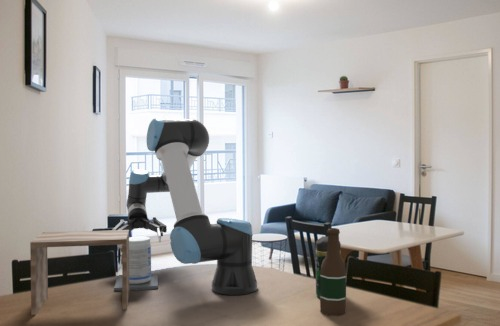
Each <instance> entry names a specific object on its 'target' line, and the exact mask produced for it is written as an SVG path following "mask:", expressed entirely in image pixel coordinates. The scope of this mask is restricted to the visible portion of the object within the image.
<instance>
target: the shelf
mask: <svg viewBox="0 0 500 326" xmlns="http://www.w3.org/2000/svg"><path fill="white" fill-rule="evenodd" d="M129 237H130V231H129V230H109V229H107V230H80V231H79V230H78V231H77V230H75V231H48V232H47V231H46V232H42V233H41V234H39V235H38V236H36V237H35V238H34V239H33V240H32V241H30V248H29V249H30V251H29V252H30V314H31V316H37V314H38V313H39V311H40V310H41V308H42V307H43V305H44V304H45V302H46V301H47V299H48V298H49V286H48V285H49V280H48V279H49V278H48V277H49V276H48V275H49V274H48V271H49V269H48V265H49V264H48V248H62V247H63V248H64V247H89V246H94V247H95V246H117V245H119V246H121V257H122V258H121V259H122V260H121V261H122V262H121V267H122V275H121V277H122V291H121V292H122V295H121V296H122V310H124V311H125V310H127V309H128V305H129V299H130V290H129Z"/></svg>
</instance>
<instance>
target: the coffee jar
mask: <svg viewBox="0 0 500 326" xmlns="http://www.w3.org/2000/svg"><path fill="white" fill-rule="evenodd" d="M327 246H328V236H321V237H320V238H318V239H316V241H315V295H316V296H317V297H318V298H320V274H321V265H322V262H323V260H324V259H325V257H326V255H327ZM341 247H342V246H341V241H340V240H339V249H340V257H341V258H342V254H341V252H342V251H341V250H342V249H341Z"/></svg>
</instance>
